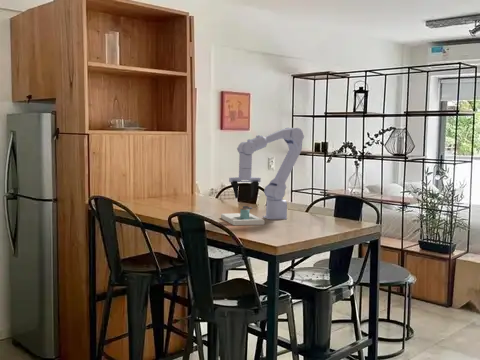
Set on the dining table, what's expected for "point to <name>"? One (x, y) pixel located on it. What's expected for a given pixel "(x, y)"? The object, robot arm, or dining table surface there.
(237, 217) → the white box with opening
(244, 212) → the cylinder
